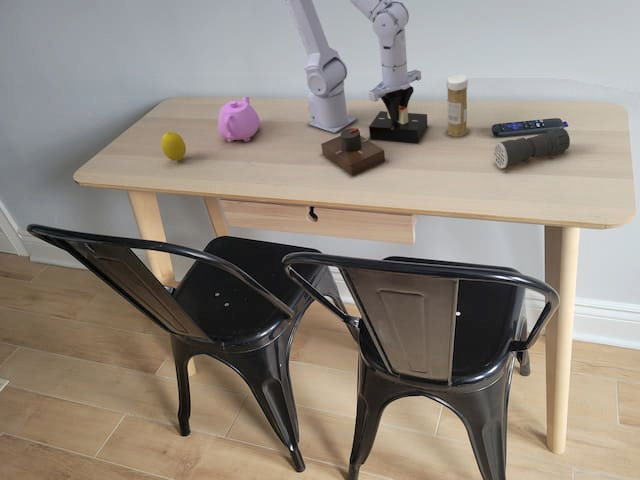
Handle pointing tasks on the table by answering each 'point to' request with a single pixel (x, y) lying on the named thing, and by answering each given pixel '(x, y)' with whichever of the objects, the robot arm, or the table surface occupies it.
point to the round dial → (351, 139)
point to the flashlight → (530, 147)
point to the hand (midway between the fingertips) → (397, 118)
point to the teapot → (238, 120)
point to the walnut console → (353, 155)
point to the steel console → (398, 128)
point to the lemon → (173, 146)
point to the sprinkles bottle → (457, 105)
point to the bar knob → (402, 115)
